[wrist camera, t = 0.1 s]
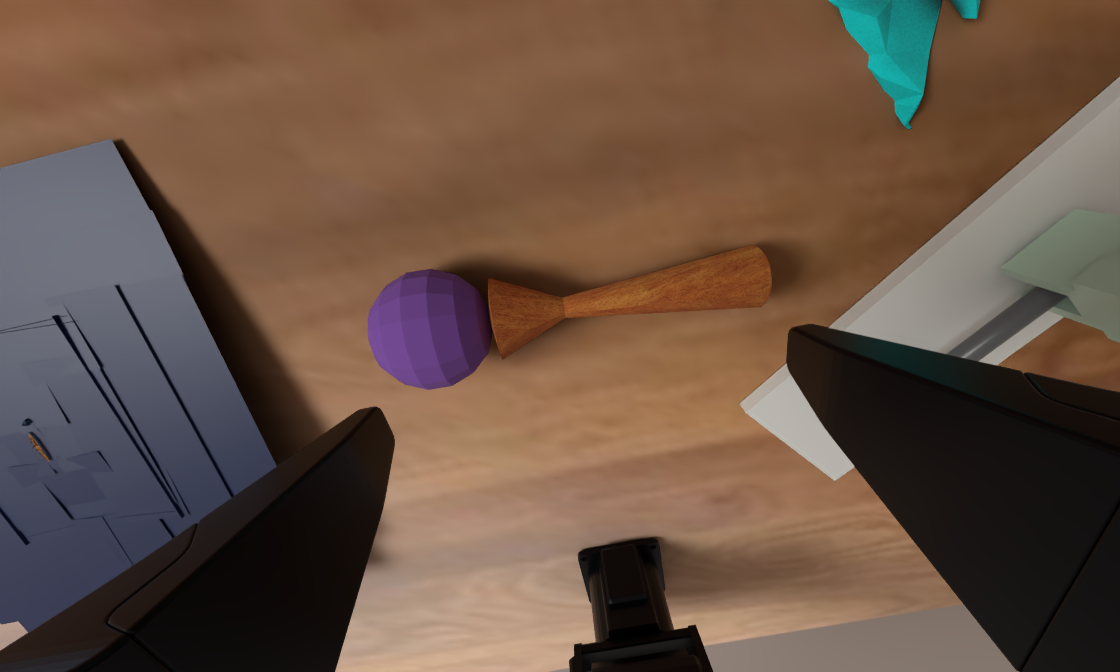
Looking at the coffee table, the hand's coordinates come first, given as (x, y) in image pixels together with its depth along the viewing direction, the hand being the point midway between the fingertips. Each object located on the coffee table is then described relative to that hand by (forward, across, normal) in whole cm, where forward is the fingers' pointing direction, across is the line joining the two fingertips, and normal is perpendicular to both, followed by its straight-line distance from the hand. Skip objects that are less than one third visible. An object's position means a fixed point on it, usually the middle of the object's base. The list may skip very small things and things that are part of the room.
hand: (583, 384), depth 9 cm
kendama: (+15, 0, +3) cm, 15 cm away
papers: (+15, +31, +6) cm, 35 cm away
